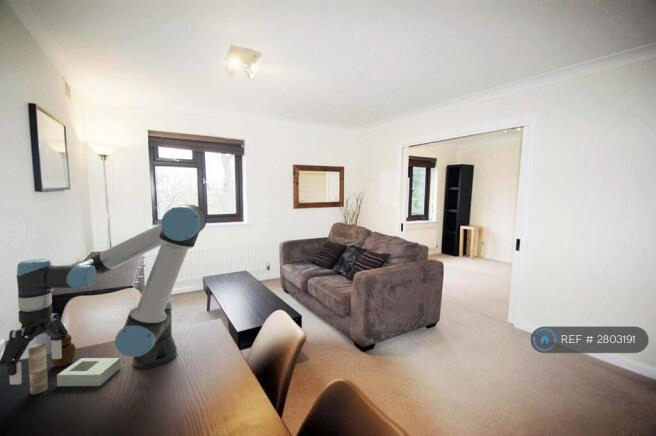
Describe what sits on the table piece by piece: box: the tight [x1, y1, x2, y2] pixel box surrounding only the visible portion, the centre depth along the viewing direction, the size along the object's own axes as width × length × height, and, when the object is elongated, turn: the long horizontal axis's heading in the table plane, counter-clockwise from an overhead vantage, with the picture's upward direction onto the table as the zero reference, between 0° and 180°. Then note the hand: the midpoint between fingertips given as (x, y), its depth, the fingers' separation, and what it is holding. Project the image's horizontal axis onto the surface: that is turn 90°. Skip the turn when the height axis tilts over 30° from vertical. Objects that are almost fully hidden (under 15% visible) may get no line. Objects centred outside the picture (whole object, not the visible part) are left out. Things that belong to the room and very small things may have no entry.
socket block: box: [56, 357, 121, 387], centre depth 100 cm, size 14×10×4 cm
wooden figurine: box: [50, 334, 76, 368], centre depth 106 cm, size 7×6×15 cm
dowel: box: [27, 343, 49, 396], centre depth 92 cm, size 4×4×15 cm
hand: (37, 370), depth 92 cm, fingers open, 13 cm apart
